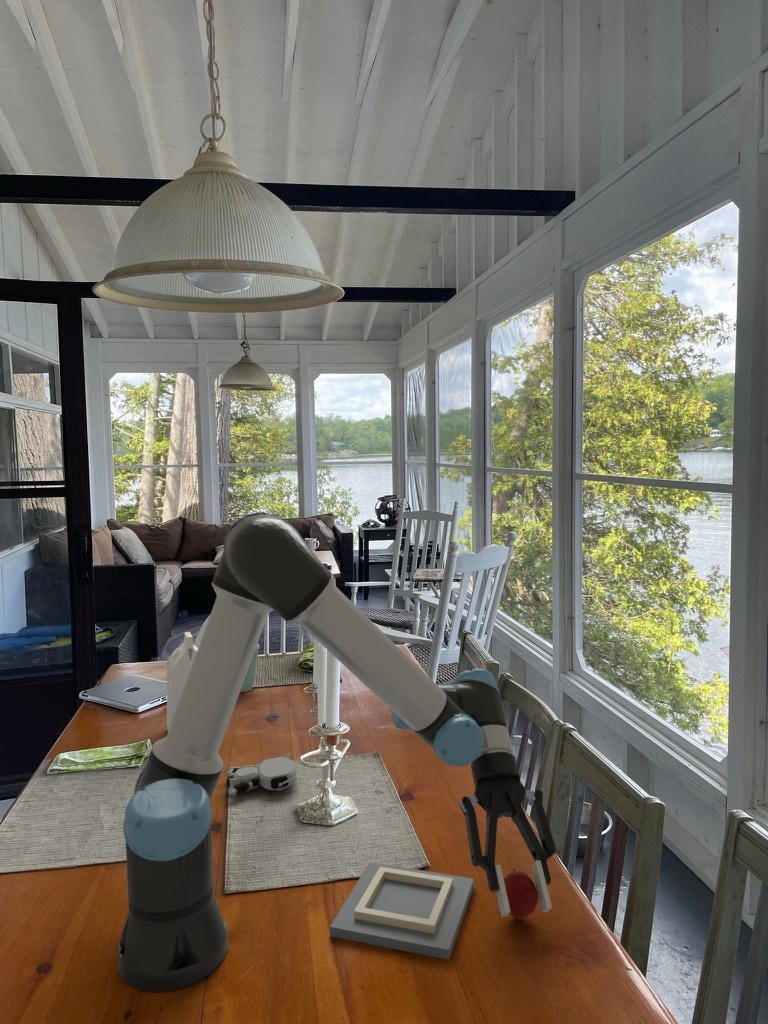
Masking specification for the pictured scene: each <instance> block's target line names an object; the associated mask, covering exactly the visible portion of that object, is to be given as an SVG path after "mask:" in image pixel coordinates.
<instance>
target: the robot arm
mask: <svg viewBox="0 0 768 1024" xmlns="http://www.w3.org/2000/svg"><path fill="white" fill-rule="evenodd" d="M222 547H223V551H222V554H221V557H220V559H219V562H218V565H217V567H216V570H215V573H214V576H213V578H212V582H211V586H212V587H213V590H214V592H215V594H216V598H215V601H214V604H213V607H212V608H211V609H212V610H211V613H210V615H209V618H208V621H207V624H206V626H205V630H204V632H203V633H202V638H201V639H200V642H199V646H198V647H197V648H198V651H197V654H196V656H195V659H194V662H193V665H192V667H191V670H190V673H189V676H188V678H187V681H186V684H185V687H184V689H183V692H182V695H181V698H180V701H179V703H178V706H177V709H176V712H175V714H174V717H173V720H172V723H171V725H170V728H169V731H168V730H167V735H166V736H165V737H163V738H160V739H158V740H156V741H155V742H154V743H153V745H152V746H151V750H150V753H149V756H148V758H147V760H146V764H145V766H144V767H143V768H142V771H141V772H140V773H139V775H138V777H137V779H136V782H135V786H134V792H133V795H132V796H131V798H130V799H129V800H128V802H127V804H126V807H125V811H124V820H123V825H122V827H123V829H122V831H123V835H124V840H125V854H126V857H125V859H126V860H125V861H126V877H127V878H126V879H127V899H128V900H127V901H128V912H127V915H126V918H125V922H124V926H123V928H122V929H123V930H122V934H121V936H120V940H119V943H118V947H117V970H118V973H119V975H120V978H121V979H122V981H123V982H125V984H127V985H129V986H130V987H132V988H135V989H137V990H140V991H144V992H169V991H174V990H177V989H178V990H179V989H182V988H185V987H188V986H191V985H192V984H195V983H197V982H200V981H201V980H203V979H204V978H206V977H208V976H209V975H210V974H211V973H213V972H214V971H215V970H217V968H218V967H219V966H220V965H221V964H222V962H223V960H224V959H225V957H226V955H227V952H228V948H229V942H228V941H229V939H228V938H229V936H228V927H227V923H226V922H225V919H224V918H223V916H222V913H221V910H220V908H219V904H218V902H217V900H216V897H215V894H214V872H213V871H214V870H213V867H214V866H213V849H212V847H213V846H212V845H213V844H212V842H213V841H212V818H213V812H212V810H213V809H212V806H211V802H212V799H213V795H214V793H215V790H216V787H217V785H218V781H219V780H220V777H221V773H222V770H223V768H224V762H223V759H222V757H221V756H220V753H219V750H220V747H221V745H222V743H223V740H224V738H225V735H226V732H227V728H228V726H229V723H230V720H231V718H232V715H233V712H234V709H235V706H236V704H237V701H238V698H239V696H240V693H241V692H240V690H241V687H242V685H243V682H244V679H245V676H246V673H247V671H248V668H249V665H250V662H251V660H252V657H253V654H254V651H255V648H256V646H257V643H258V644H259V641H260V636H261V635H262V632H263V630H264V629H263V628H264V627H265V624H266V620H267V618H268V615H269V614H270V613H271V612H273V611H274V612H275V613H277V614H278V615H279V616H280V617H281V618H282V619H283V620H284V621H285V622H287V623H298V624H299V625H300V626H301V627H302V628H303V629H304V630H305V631H306V632H308V633H309V634H310V635H311V636H312V637H313V638H314V639H315V640H316V641H317V642H318V643H320V644H321V645H322V647H323V648H325V649H326V651H328V652H329V653H330V654H331V655H332V656H333V657H334V658H335V659H336V660H337V661H339V662H340V663H341V664H342V665H343V666H344V667H345V668H346V669H347V670H348V671H349V672H350V673H351V674H353V675H354V677H355V678H357V679H358V680H359V681H360V682H361V683H362V684H363V685H364V686H365V687H367V688H368V689H369V691H370V692H372V693H373V694H374V696H376V697H377V698H378V699H379V700H380V701H381V702H383V703H384V704H385V705H386V706H387V707H388V708H389V709H390V712H391V714H390V715H391V719H392V723H393V724H394V725H393V726H395V728H396V729H400V730H409V731H413V732H414V733H415V734H416V735H417V736H419V738H421V739H422V741H424V743H426V744H427V745H428V746H429V747H430V748H431V749H432V750H433V751H434V754H435V755H436V756H437V757H438V758H439V759H441V761H444V763H445V764H447V765H449V766H451V767H455V768H459V767H466V766H468V765H470V770H471V775H472V779H473V785H474V793H473V794H472V795H470V796H462V799H461V801H460V802H459V808H460V810H461V812H462V813H463V816H464V817H465V818H464V819H465V820H464V821H465V826H466V833H467V839H468V845H469V852H470V853H469V854H470V859H471V865H473V867H480V868H482V869H483V870H484V871H485V873H486V879H487V883H488V888H489V890H490V892H491V893H494V892H496V896H497V900H498V901H497V902H498V905H499V906H498V907H499V911H500V916H501V918H507V917H508V916H509V915H510V907H509V902H508V897H507V893H506V888H505V883H504V875H503V869H502V866H501V864H495V863H496V850H497V849H496V847H497V830H498V819H501V818H503V817H504V818H511V821H512V823H514V824H515V825H516V827H517V830H518V831H519V834H520V835H521V837H522V839H523V841H524V843H525V845H526V846H527V849H528V851H529V852H530V855H531V856H532V858H533V860H534V862H533V863H532V864H531V870H532V874H533V878H534V884H535V887H536V890H537V893H538V902H539V905H540V909H541V913H547V912H549V911H550V910H551V909H552V908H553V906H552V902H551V899H550V895H549V890H548V886H549V885H550V884H551V883H552V878H551V877H552V876H551V874H550V869H549V865H548V860H550V859H551V858H553V856H554V855H555V854H556V852H557V848H556V845H555V842H554V838H553V836H552V835H553V834H552V832H551V829H550V825H549V821H548V819H547V815H546V812H545V809H544V806H543V803H544V802H543V800H544V799H543V798H544V797H543V796H544V794H543V793H544V792H543V791H542V790H541V789H537V790H530V789H526V787H525V785H524V784H523V783H522V781H521V777H520V773H519V769H518V765H517V760H516V757H515V755H513V754H514V749H513V745H512V739H511V737H510V732H509V729H508V726H507V721H506V717H505V712H504V708H503V704H502V703H503V702H502V700H501V699H502V697H501V693H500V691H499V688H498V687H499V686H498V684H497V681H496V679H495V676H494V674H493V672H492V673H491V672H490V671H489V670H487V669H484V668H471V670H468V669H466V670H463V671H462V672H460V673H459V674H457V675H456V676H455V678H454V679H453V683H435V682H434V680H433V679H431V677H430V676H428V675H427V674H426V673H425V672H424V671H423V670H422V669H421V668H420V667H419V666H418V665H417V664H416V663H415V662H414V661H413V660H412V659H411V658H410V657H409V656H408V655H407V654H406V653H404V652H403V650H401V648H400V647H399V646H397V644H395V643H394V642H393V641H392V640H391V639H390V638H389V637H388V636H387V635H386V634H385V633H384V632H383V631H382V630H381V629H380V628H379V627H378V626H377V625H376V624H375V623H374V622H373V621H372V620H371V619H370V618H369V617H367V615H366V614H365V613H363V611H362V610H361V609H360V608H359V607H357V605H355V604H354V602H352V601H351V599H349V598H348V597H347V596H346V595H345V594H344V593H343V592H342V591H341V590H340V589H339V588H338V587H337V586H336V585H335V584H334V574H333V572H332V571H330V570H329V569H328V568H327V567H326V565H324V563H323V562H322V561H321V560H320V559H319V557H317V556H316V554H315V553H314V552H313V550H311V548H310V547H309V545H308V544H307V543H306V541H305V540H304V538H303V537H302V535H301V534H300V532H299V531H298V530H297V529H296V528H295V527H294V526H293V525H292V524H290V523H289V522H288V521H287V520H285V519H284V518H283V517H281V516H278V515H276V514H274V513H269V512H267V511H265V512H263V511H262V512H261V511H258V512H253V513H252V512H251V513H248V514H246V515H244V516H242V517H240V518H238V519H237V520H236V521H235V522H234V523H233V524H231V526H230V527H229V528H228V530H227V532H226V534H225V536H224V540H223V546H222ZM524 799H526V800H527V803H528V805H529V806H531V807H530V808H531V813H532V817H533V820H534V823H535V827H536V830H537V834H538V836H537V835H536V833H535V831H534V829H533V828H532V826H531V824H530V821H529V820H528V818H527V816H526V812H525V810H524V808H523V806H522V805H523V801H524ZM477 804H478V805H479V806H480V807H481V808H482V809H483V810H484V811H485V813H486V816H485V817H486V818H485V820H486V821H485V824H486V827H485V841H484V842H485V843H484V855H483V854H482V853H483V851H482V846H481V839H480V832H479V826H478V821H477V814H476V808H477ZM538 837H539V838H538ZM539 840H540V841H539Z"/></svg>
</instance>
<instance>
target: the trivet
mask: <svg viewBox="0 0 768 1024" xmlns="http://www.w3.org/2000/svg"><path fill="white" fill-rule="evenodd" d="M474 889H475V879H474V878H470V877H466V876H465V877H464V876H459V875H452V874H446V873H441V872H435V871H434V872H433V871H429V870H428V871H427V870H421V869H416V868H415V869H414V868H409V867H402V866H396V865H391V864H384V863H379V862H373V861H370V862H369V863H368V864H367V866H366V867H365V869H364V870H363V872H362V874H361V875H360V877H359V878H358V880H357V882H356V884H355V885H354V887H353V889H352V890H351V892H350V894H349V895H348V896H347V898H346V900H345V901H344V903H343V905H342V906H341V908H340V910H339V911H338V913H337V915H336V916H335V918H334V920H333V921H332V922H331V924H330V925H329V937H331V938H337V939H341V940H346V941H347V940H348V941H350V942H351V941H352V942H356V943H361V944H368V945H370V946H371V945H372V946H377V947H381V948H387V949H392V950H395V951H396V950H397V951H402V952H408V953H413V954H418V955H421V956H427V957H431V958H437V959H442V960H447V961H450V959H451V956H452V952H453V950H454V947H455V945H456V941H457V938H458V936H459V933H460V929H461V926H462V924H463V921H464V919H465V915H466V912H467V910H468V906H469V903H470V901H471V897H472V895H473V892H474Z"/></svg>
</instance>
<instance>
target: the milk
mask: <svg viewBox="0 0 768 1024" xmlns="http://www.w3.org/2000/svg"><path fill="white" fill-rule="evenodd" d="M183 634H184V637H183V642H182V643H181V644H180V645H179V646H178V647H176V648H175V649H174V650H173V652H172V653H171V655H170V656H169V657H168V659H167V660H166V726H167V732H168V731H169V728H170V725H171V723H172V720H173V717H174V714H175V712H176V709H177V706H178V703H179V701H180V698H181V695H182V692H183V689H184V687H185V684H186V681H187V678H188V676H189V673H190V670H191V667H192V665H193V662H194V659H195V656H196V654H197V651H198V648H199V647H197V646H196V645H195V644H194V640H193V639H194V637H193V635H192V634H191V631H185V632H184V633H183Z"/></svg>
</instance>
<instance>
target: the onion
mask: <svg viewBox="0 0 768 1024" xmlns="http://www.w3.org/2000/svg"><path fill="white" fill-rule="evenodd" d="M503 879H504V883H505V888H506V893H507V897H508V902H509V907H510V914H509V915H511V916H512V918H514V919H515V920H522V919H526V918H527V917H529V916H530V915H531V914H533V913H534V911H535V909H536V908H537V905H538V902H539V896H538V892H537V888H536V884H535V881H533V880H532V878H531V877H530V876H528V875H527V874H526V873H524V872H523V871H521V870H520V868H518V867H516V866H515V867H513V871H512V872H509V874H507V875H506V876H505V877H503Z"/></svg>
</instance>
